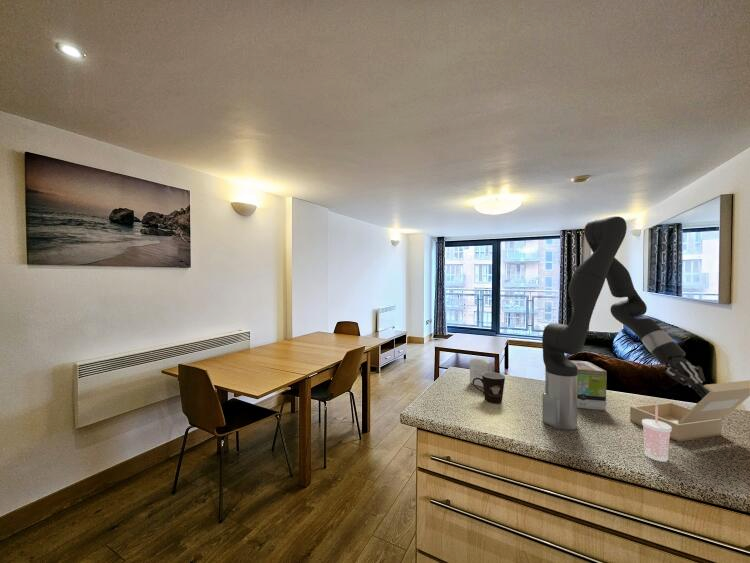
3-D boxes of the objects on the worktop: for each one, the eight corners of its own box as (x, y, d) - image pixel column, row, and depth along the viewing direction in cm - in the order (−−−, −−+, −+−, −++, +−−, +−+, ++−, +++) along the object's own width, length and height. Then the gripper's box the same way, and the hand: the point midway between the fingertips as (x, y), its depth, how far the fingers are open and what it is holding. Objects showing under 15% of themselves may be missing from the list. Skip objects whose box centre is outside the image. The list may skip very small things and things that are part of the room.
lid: (671, 416, 95) (679, 424, 93) (704, 384, 88) (714, 392, 86) (715, 411, 100) (724, 418, 98) (750, 380, 92) (760, 387, 90)
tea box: (607, 410, 116) (607, 370, 116) (577, 408, 118) (577, 369, 118) (588, 396, 131) (588, 360, 131) (561, 394, 133) (562, 359, 133)
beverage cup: (647, 460, 84) (647, 408, 84) (637, 448, 90) (638, 399, 90) (676, 465, 82) (677, 411, 82) (664, 453, 88) (665, 403, 88)
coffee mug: (506, 399, 127) (507, 374, 126) (502, 406, 119) (502, 380, 119) (477, 393, 133) (477, 369, 133) (471, 400, 125) (471, 375, 125)
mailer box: (677, 441, 94) (678, 425, 94) (630, 421, 108) (630, 406, 107) (721, 435, 98) (721, 419, 98) (670, 416, 112) (670, 401, 112)
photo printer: (493, 387, 140) (493, 359, 140) (487, 389, 138) (487, 361, 137) (474, 381, 148) (474, 355, 148) (468, 383, 146) (468, 356, 146)
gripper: (655, 341, 102) (701, 393, 90) (686, 340, 105) (735, 389, 93) (638, 354, 107) (680, 404, 95) (668, 352, 110) (712, 400, 98)
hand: (707, 396), depth 94 cm, fingers closed
